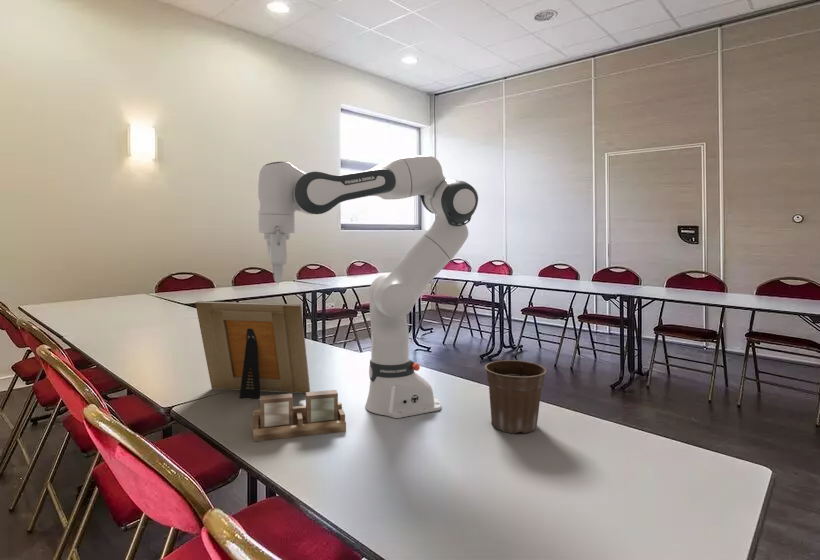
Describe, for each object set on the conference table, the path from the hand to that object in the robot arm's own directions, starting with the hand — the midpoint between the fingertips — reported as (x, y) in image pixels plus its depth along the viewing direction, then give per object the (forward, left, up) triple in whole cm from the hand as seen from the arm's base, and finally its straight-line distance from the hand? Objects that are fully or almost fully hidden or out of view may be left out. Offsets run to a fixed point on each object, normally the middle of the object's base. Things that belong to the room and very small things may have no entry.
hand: (277, 280), depth 124 cm
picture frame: (+6, -27, -39) cm, 48 cm away
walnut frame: (+1, +4, -38) cm, 38 cm away
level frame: (-11, +4, -38) cm, 39 cm away
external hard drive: (-12, -11, -40) cm, 43 cm away
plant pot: (-61, +16, -39) cm, 74 cm away
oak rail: (-5, +4, -39) cm, 40 cm away
